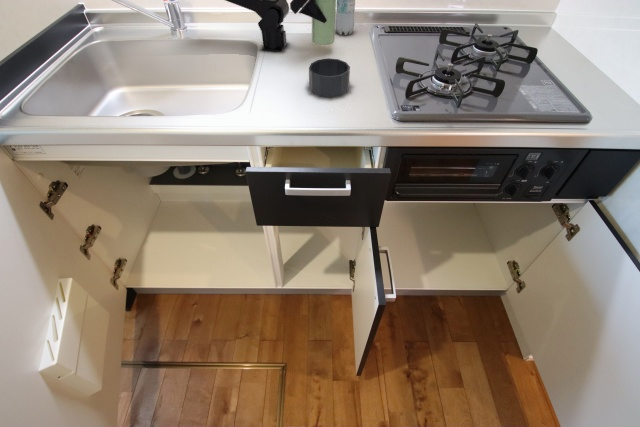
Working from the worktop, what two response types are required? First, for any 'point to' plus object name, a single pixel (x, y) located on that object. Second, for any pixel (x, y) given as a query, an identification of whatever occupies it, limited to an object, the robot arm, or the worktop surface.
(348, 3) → the bottle
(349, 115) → the worktop surface
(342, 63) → the bucket
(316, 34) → the cup
